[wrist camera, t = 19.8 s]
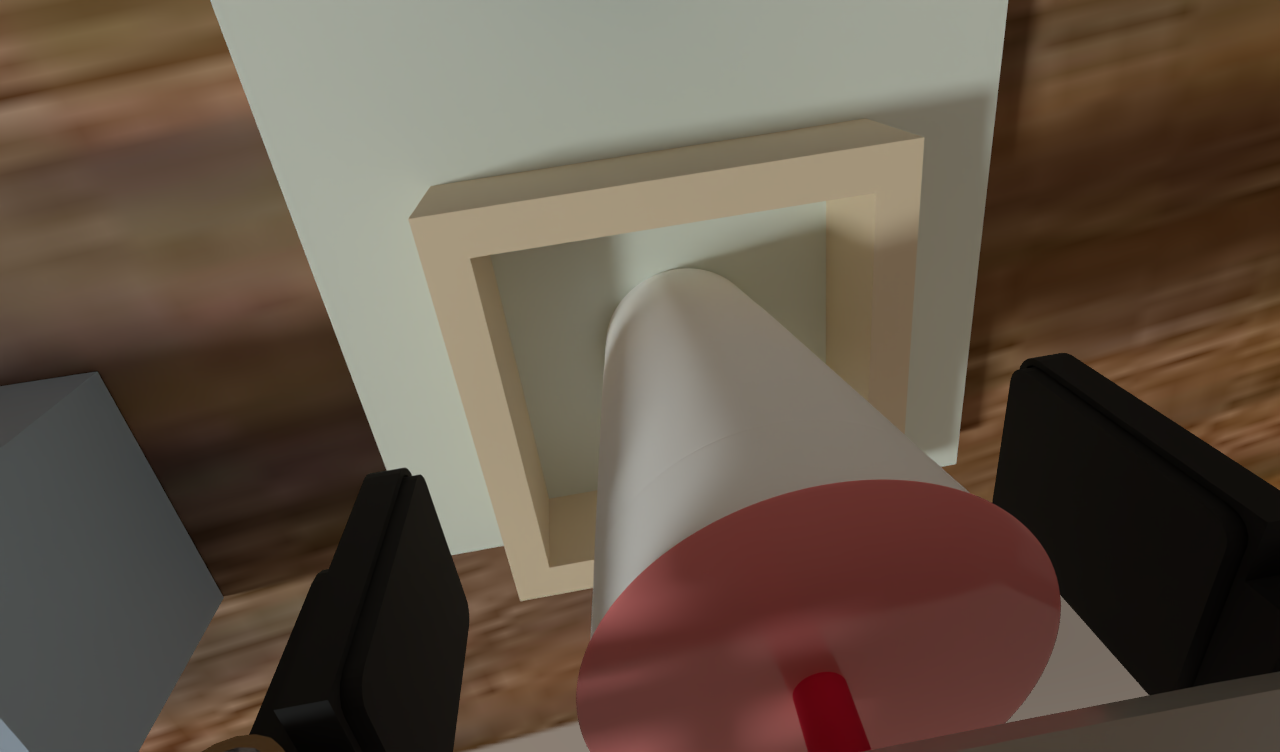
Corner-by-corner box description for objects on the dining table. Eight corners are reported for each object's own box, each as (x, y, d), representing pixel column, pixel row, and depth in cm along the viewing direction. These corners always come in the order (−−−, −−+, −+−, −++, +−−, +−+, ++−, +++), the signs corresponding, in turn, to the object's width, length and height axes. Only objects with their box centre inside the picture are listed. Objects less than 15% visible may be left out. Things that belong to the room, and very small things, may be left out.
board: (45, -539, 9) (-211, -821, 6) (1032, -644, 10) (1256, -948, 7) (427, 529, 18) (402, 636, 15) (933, 439, 19) (1010, 523, 16)
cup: (589, 462, 17) (665, 1251, 6) (534, 251, 14) (494, 975, 3) (806, 415, 17) (1251, 1105, 6) (790, 197, 14) (1512, 740, 4)
